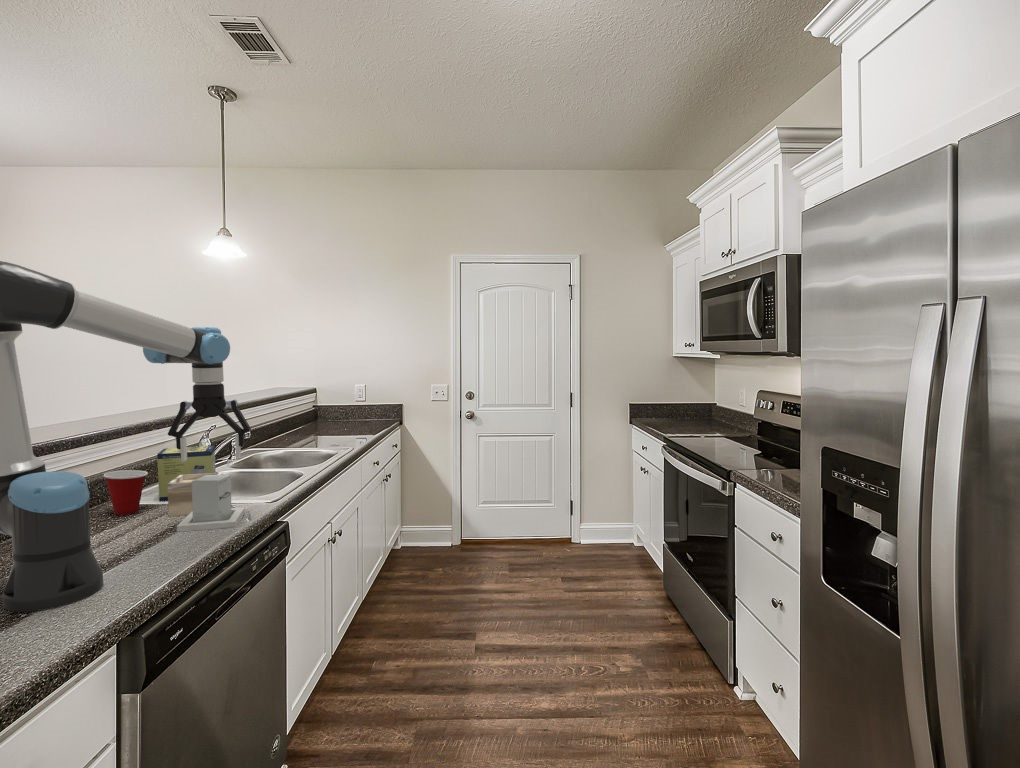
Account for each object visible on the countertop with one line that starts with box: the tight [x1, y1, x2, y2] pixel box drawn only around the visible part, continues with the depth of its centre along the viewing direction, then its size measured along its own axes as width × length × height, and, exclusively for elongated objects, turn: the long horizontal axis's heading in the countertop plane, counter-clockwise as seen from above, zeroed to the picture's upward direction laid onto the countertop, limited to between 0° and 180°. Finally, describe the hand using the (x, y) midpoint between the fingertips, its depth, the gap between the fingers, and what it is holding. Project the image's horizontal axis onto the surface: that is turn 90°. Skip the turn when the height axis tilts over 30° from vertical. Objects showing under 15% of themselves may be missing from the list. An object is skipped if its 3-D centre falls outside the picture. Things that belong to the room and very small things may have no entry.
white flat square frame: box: [176, 507, 246, 533], centre depth 152 cm, size 14×14×2 cm
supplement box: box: [192, 474, 232, 523], centre depth 151 cm, size 7×7×13 cm
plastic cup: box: [103, 469, 149, 516], centre depth 160 cm, size 11×11×12 cm
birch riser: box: [167, 471, 224, 517], centre depth 164 cm, size 12×12×10 cm
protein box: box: [156, 445, 217, 502], centre depth 179 cm, size 10×16×16 cm
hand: (211, 459), depth 151 cm, fingers open, 13 cm apart
